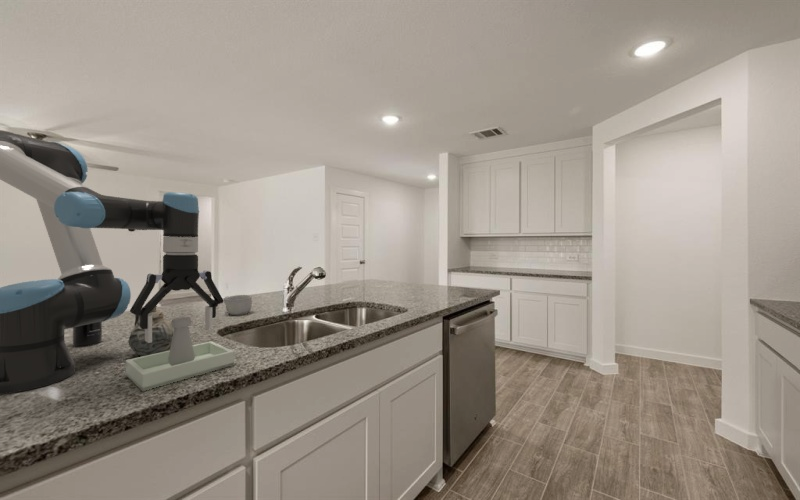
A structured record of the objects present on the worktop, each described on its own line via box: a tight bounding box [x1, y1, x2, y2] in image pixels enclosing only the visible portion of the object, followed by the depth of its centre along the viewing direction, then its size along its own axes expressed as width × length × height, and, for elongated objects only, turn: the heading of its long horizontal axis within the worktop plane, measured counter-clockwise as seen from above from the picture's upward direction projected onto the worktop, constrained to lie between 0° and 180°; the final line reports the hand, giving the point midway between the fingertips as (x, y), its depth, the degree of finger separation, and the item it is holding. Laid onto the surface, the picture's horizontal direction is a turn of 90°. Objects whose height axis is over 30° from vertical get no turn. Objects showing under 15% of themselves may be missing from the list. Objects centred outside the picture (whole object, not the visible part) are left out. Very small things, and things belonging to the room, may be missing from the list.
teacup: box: [223, 294, 253, 317], centre depth 150 cm, size 14×11×8 cm
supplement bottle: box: [72, 322, 103, 347], centre depth 106 cm, size 7×7×12 cm
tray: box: [125, 340, 235, 392], centre depth 85 cm, size 20×14×4 cm
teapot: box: [128, 305, 174, 357], centre depth 96 cm, size 21×12×15 cm, turn 59°
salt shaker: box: [168, 315, 195, 366], centre depth 85 cm, size 6×6×13 cm
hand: (180, 335), depth 85 cm, fingers open, 13 cm apart
